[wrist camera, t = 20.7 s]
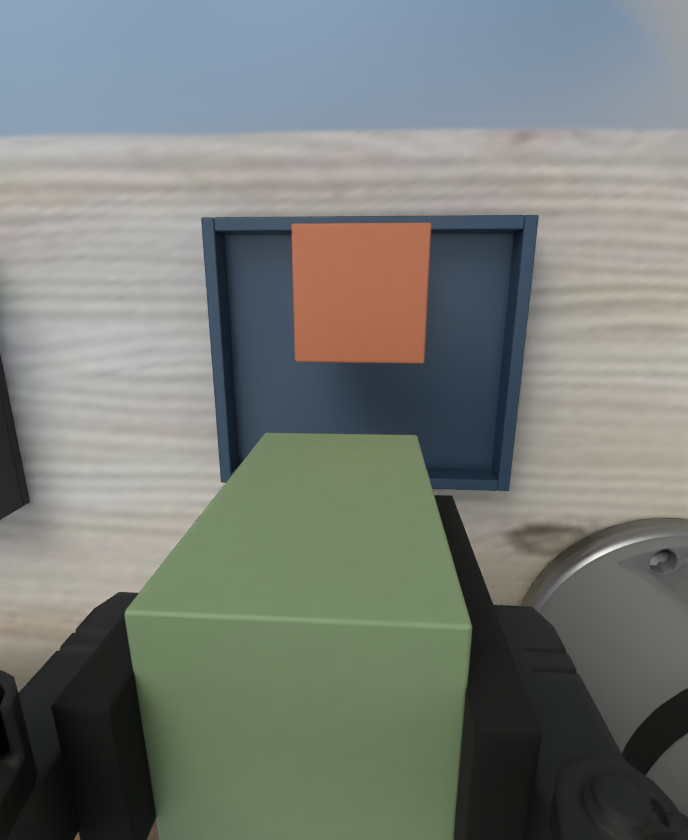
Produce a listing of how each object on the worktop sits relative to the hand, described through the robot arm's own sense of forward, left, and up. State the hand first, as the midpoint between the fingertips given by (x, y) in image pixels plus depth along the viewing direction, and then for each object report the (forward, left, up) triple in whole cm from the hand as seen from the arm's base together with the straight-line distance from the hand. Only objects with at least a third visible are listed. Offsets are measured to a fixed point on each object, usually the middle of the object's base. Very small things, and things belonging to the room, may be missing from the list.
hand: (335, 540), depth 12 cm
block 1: (+3, -6, -13) cm, 14 cm away
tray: (+1, -3, -14) cm, 14 cm away
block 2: (0, 0, -2) cm, 2 cm away
